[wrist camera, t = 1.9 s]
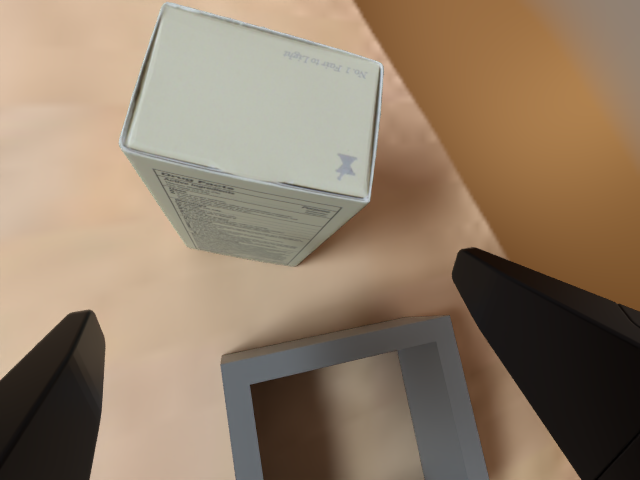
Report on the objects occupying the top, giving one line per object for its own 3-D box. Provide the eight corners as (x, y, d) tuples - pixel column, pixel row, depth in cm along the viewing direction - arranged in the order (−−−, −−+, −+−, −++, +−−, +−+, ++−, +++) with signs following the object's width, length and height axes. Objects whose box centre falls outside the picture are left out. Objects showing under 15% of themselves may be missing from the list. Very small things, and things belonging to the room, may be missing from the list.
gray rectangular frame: (449, 514, 20) (509, 565, 16) (253, 588, 17) (261, 674, 13) (406, 317, 22) (449, 315, 18) (221, 355, 19) (220, 364, 15)
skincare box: (307, 197, 22) (395, 59, 11) (295, 271, 21) (379, 207, 9) (197, 173, 21) (161, -12, 9) (178, 251, 20) (112, 148, 8)
